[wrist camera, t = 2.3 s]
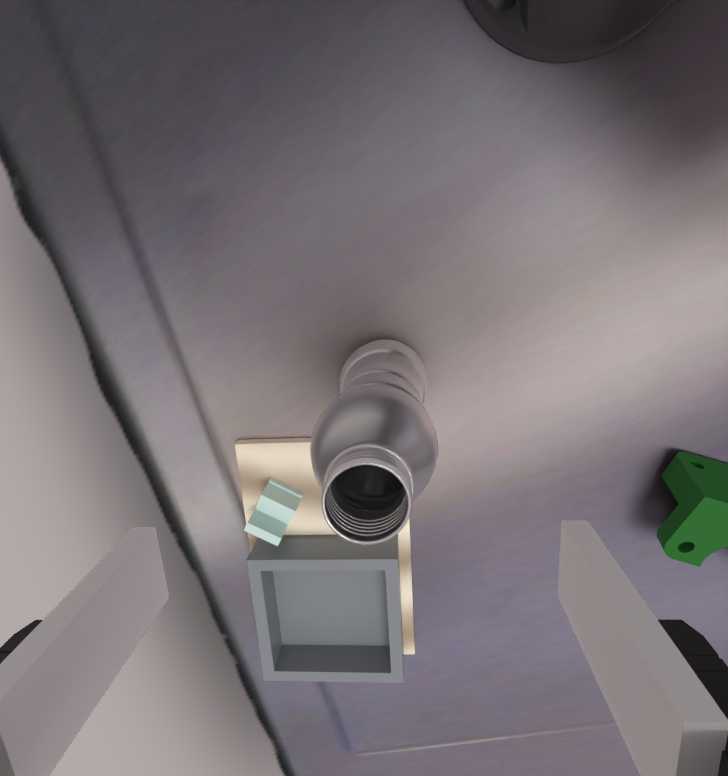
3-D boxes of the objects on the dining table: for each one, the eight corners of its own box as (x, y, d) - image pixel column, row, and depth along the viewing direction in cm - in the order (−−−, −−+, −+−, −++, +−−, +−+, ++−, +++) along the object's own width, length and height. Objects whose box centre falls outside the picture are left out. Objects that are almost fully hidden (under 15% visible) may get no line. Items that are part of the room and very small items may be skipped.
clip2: (271, 477, 40) (262, 492, 37) (303, 492, 40) (296, 509, 37) (252, 514, 41) (242, 532, 38) (284, 529, 41) (276, 548, 39)
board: (238, 439, 40) (234, 444, 39) (406, 434, 39) (406, 439, 38) (267, 644, 46) (264, 652, 45) (414, 645, 45) (414, 654, 44)
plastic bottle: (440, 354, 37) (481, 464, 18) (403, 428, 39) (405, 600, 20) (364, 320, 37) (323, 394, 18) (330, 396, 39) (260, 539, 19)
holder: (259, 535, 42) (246, 560, 38) (397, 533, 40) (397, 559, 37) (274, 648, 45) (264, 680, 41) (403, 649, 44) (403, 682, 40)
